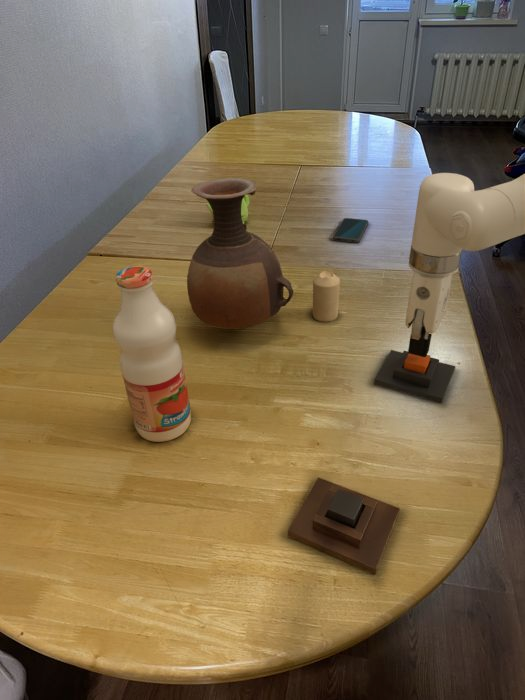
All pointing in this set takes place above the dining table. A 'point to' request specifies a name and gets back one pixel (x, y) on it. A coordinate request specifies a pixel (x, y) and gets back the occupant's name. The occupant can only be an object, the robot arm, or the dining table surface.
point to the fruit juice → (150, 358)
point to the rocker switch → (345, 508)
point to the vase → (233, 264)
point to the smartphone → (350, 230)
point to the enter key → (417, 363)
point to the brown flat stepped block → (345, 527)
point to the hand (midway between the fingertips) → (418, 352)
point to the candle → (325, 296)
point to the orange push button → (415, 377)
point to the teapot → (243, 208)
